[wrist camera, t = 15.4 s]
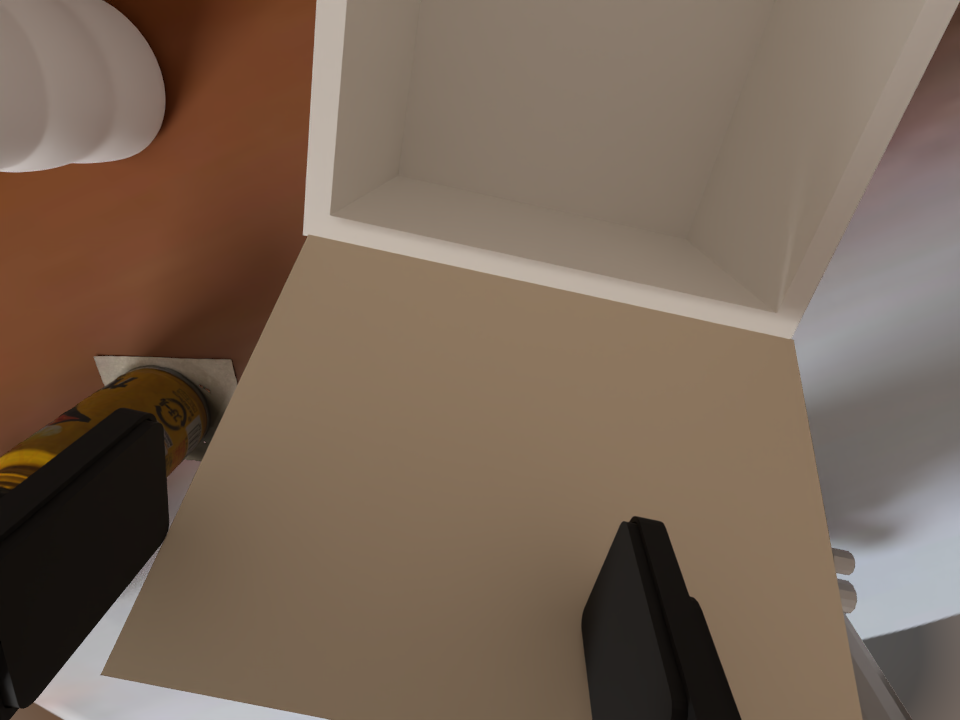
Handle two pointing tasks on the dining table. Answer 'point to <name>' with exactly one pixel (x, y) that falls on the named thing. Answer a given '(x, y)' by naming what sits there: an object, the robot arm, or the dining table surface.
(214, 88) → the dining table surface
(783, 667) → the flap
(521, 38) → the carton
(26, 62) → the water bottle
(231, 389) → the condiment
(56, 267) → the dining table surface
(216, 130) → the dining table surface
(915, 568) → the dining table surface
